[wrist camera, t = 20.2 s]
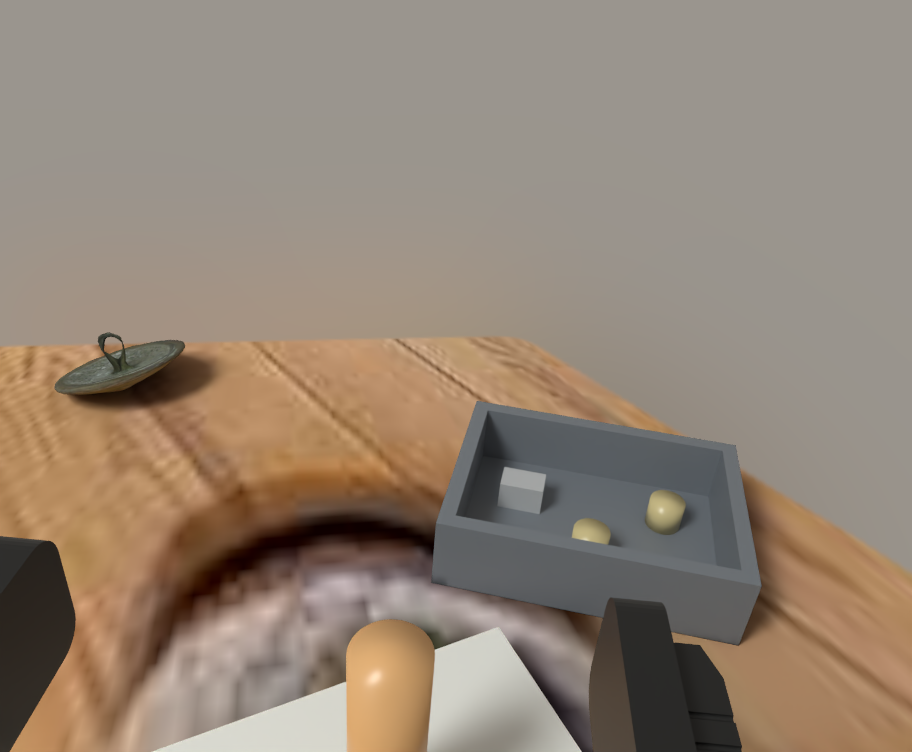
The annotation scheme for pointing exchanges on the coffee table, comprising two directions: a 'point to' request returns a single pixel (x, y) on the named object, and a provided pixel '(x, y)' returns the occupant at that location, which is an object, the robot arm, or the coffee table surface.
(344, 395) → the coffee table surface
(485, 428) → the parts tub
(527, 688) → the tub lid
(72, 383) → the lid
